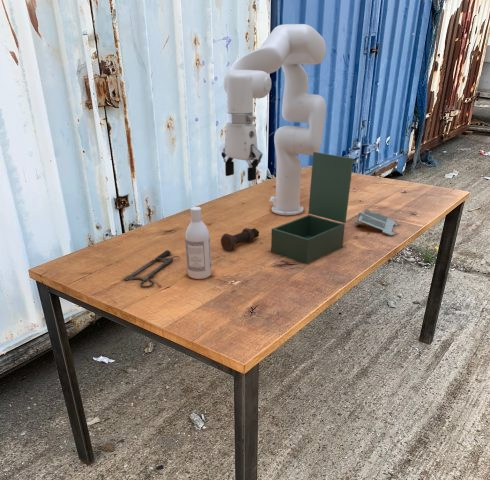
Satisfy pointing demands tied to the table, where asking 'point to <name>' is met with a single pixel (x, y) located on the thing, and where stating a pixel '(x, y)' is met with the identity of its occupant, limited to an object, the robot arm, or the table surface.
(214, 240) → the table surface
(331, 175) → the chest lid
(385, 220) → the metal bracket
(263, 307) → the table surface
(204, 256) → the bath foam
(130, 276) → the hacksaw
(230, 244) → the bolt
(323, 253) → the parts chest
